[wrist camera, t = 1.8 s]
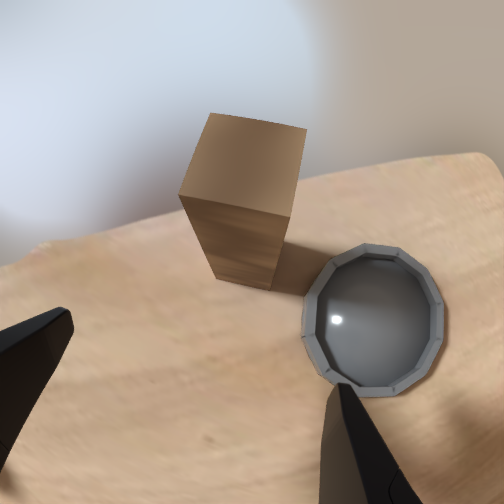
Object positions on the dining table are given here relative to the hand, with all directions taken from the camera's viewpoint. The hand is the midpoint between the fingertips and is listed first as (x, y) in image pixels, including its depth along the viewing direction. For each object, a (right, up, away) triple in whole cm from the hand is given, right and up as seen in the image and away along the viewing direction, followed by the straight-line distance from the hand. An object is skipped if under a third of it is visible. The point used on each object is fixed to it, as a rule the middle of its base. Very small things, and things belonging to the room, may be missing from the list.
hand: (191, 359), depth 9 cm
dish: (+11, -2, +13) cm, 17 cm away
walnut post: (+2, +3, +15) cm, 15 cm away
